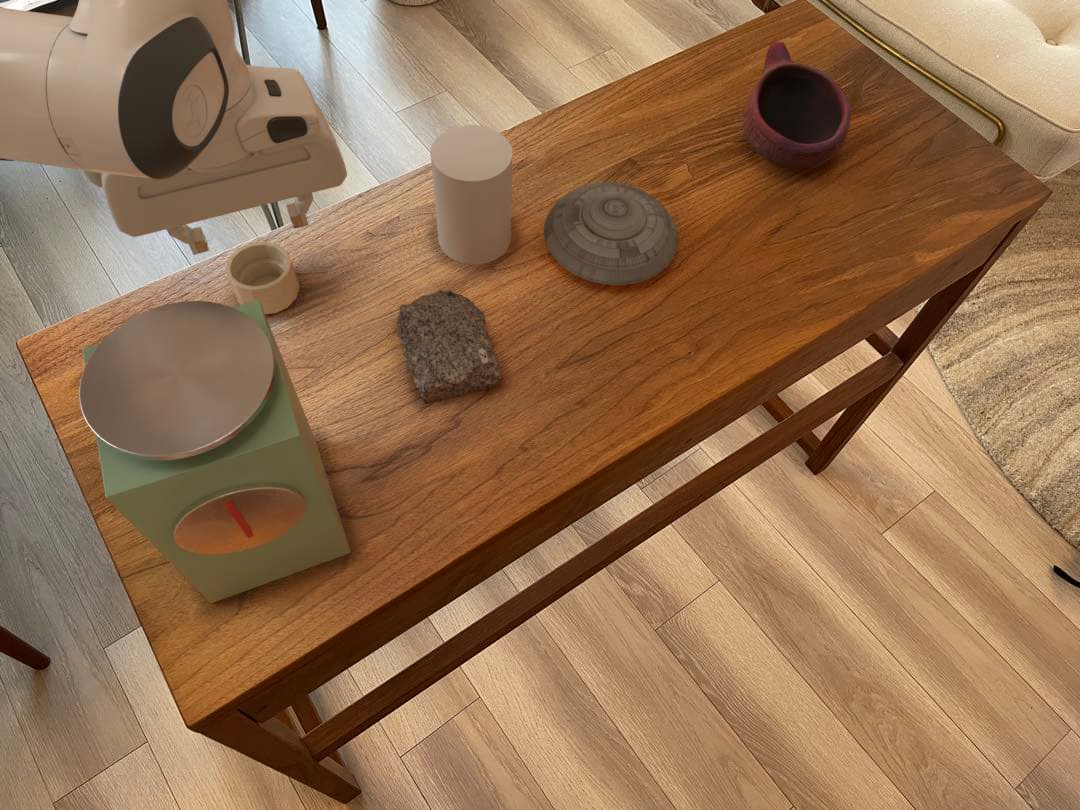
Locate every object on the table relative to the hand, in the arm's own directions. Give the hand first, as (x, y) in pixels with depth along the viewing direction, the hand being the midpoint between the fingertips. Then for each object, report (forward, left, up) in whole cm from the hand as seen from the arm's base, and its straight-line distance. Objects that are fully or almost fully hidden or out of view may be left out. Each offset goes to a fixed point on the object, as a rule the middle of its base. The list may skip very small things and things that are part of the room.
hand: (251, 235), depth 76 cm
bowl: (+64, +2, -9) cm, 64 cm away
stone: (+15, -14, -9) cm, 22 cm away
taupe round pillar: (+23, 0, -9) cm, 24 cm away
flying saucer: (+37, -6, -9) cm, 38 cm away
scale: (-6, -25, -9) cm, 27 cm away
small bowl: (0, 0, -9) cm, 9 cm away
